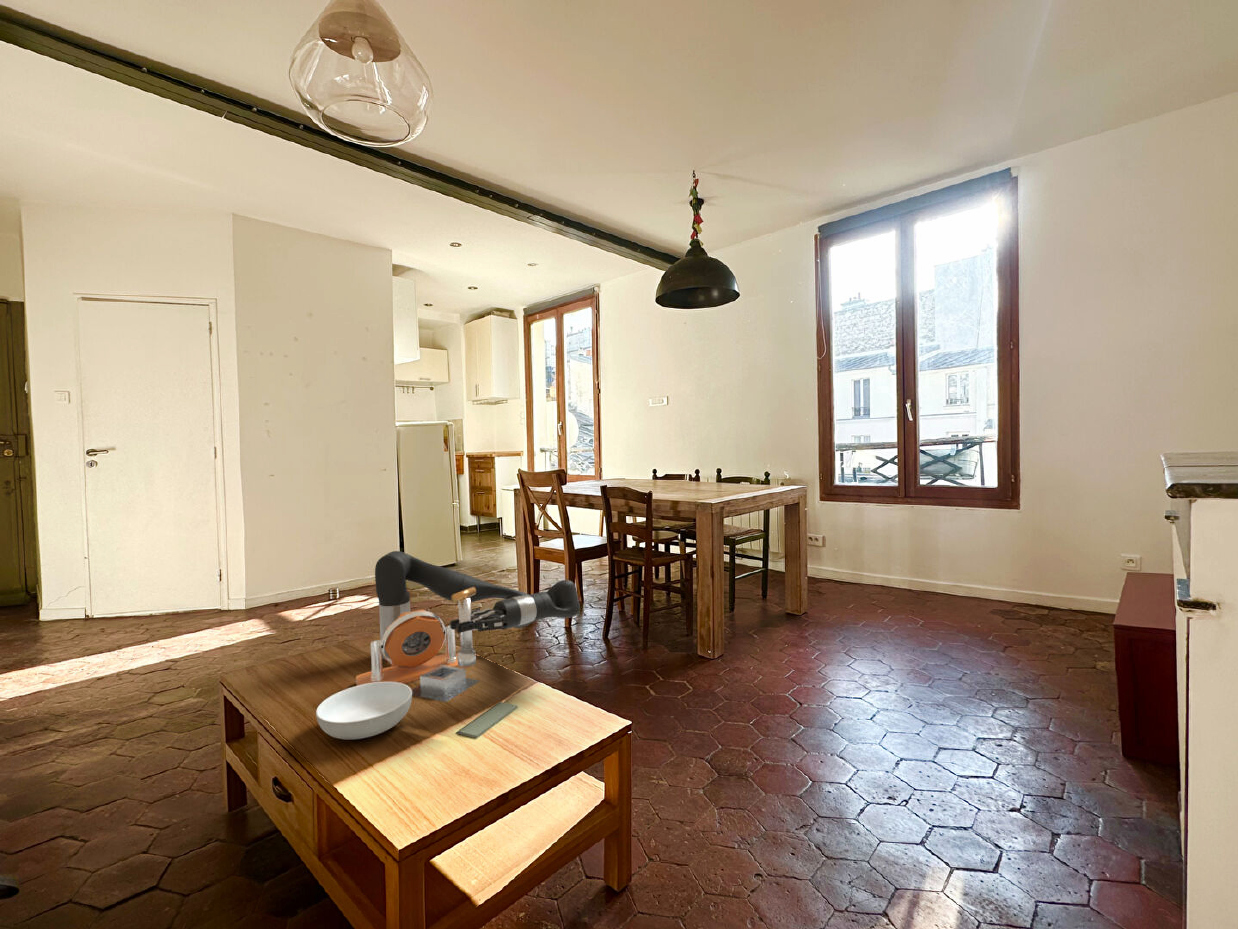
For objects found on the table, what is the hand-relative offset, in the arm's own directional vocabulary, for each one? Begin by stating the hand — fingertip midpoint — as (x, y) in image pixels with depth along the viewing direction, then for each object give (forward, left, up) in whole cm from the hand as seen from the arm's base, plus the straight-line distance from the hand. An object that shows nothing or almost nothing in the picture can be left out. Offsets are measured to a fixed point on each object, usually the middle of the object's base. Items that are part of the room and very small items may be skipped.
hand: (454, 626), depth 139 cm
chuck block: (-10, -13, -22) cm, 27 cm away
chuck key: (-3, +1, -10) cm, 10 cm away
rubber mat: (-1, +4, -22) cm, 22 cm away
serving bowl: (+13, -16, -22) cm, 31 cm away
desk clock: (-14, -28, -22) cm, 39 cm away
